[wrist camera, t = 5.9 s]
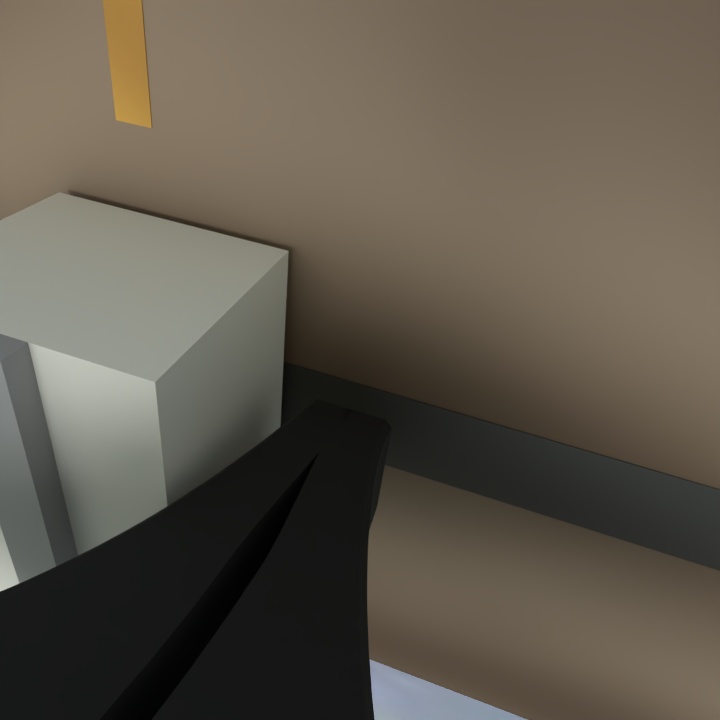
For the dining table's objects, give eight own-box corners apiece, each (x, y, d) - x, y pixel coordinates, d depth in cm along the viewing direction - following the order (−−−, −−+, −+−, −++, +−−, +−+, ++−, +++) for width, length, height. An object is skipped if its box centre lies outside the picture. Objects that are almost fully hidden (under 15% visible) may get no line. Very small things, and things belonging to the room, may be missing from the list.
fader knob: (275, 518, 13) (170, 700, 10) (105, 459, 14) (-41, 611, 11) (289, 250, 10) (132, 404, 7) (59, 192, 10) (-177, 304, 7)
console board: (812, 738, 15) (835, 837, 13) (3, 451, 19) (-53, 499, 18) (1523, 95, 7) (1812, 150, 5) (-174, -151, 11) (-310, -163, 9)
